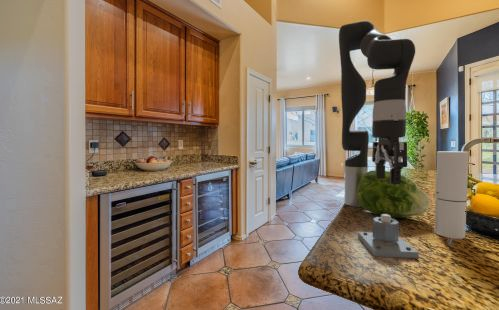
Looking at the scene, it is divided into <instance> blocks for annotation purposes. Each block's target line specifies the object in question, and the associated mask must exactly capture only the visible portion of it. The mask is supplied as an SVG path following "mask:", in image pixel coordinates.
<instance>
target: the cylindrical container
mask: <svg viewBox="0 0 499 310" xmlns="http://www.w3.org/2000/svg"><path fill="white" fill-rule="evenodd" d="M468 175H469V151H458V150H457V151H450V150H443V151H440V150H439V151H438V150H437V151H436V175H435V176H436V177H435V178H436V180H435V203H434V204H435V207H434V208H435V209H434V233H435V234H436V235H438V236H442V237H444V238H449V239H455V240H463V238H464V239H465V238H466V231H467V227H466V226H467V225H466V224H467V204H468V203H467V200H468V180H469V179H468V177H469V176H468ZM465 211H466V212H465Z"/></svg>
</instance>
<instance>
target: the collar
mask: <svg viewBox="0 0 499 310" xmlns="http://www.w3.org/2000/svg"><path fill="white" fill-rule="evenodd" d="M399 229H400V222H399V221H398V220H397V219H396V218H391V223H386V222H382V221H381V216H376V217H373V218H372V233H373V238H374V239H375V240H377V241H381V242H384V243H396V242H398V240H399V237H400V236H399V235H400V234H399V233H400V230H399Z"/></svg>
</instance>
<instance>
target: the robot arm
mask: <svg viewBox="0 0 499 310" xmlns="http://www.w3.org/2000/svg"><path fill="white" fill-rule="evenodd" d="M338 45H339V47H338V48H339V58H340V71H341V73H340V74H341V75H340V76H341V77H340V78H341V79H340V80H341V81H340V82H341V84H340V86H341V87H340V88H341V90H340V95H341V97H340V98H341V111H342V112H341V113H342V116H341V117H342V121H341V122H342V123H341V124H342V126H341V127H342V128H341V146H342V147H341V148H342V149H343V151H346V152H347V151H348V152H359V154H357V155H355V156H353V157H351V158H347V159H345V160H344V202H345V203H344V205H347V206H349V207H356V208H362V207H361V205H360V204H359V203H358V200H357V189H358V185H359V182H360V180H361V178H362V176H363V175H364V174H365V173H367V172H369V171H368V168H369V166H368V165H369V164H368V163H369V160H368V157H369V154H368V153H369V142H370V141H369V140H370V137H369V136H370V135H369V132H368V130H367V129H352V130H351V125H352V124H353V122H354V120H355V118H356V116H357V115H358V114H359V113H360V111H361V110H362V109H363V107H364V106H365V104H366V101H367V83H366V80H365V79H364V78H363V76H362V75H361V74H360V72H359V71H358V70H357V68H356V67H355V65H354V64H353V61H352V59H351V54H350V53H351V52H352V51H357V50H360V52H361V54H362V55H363V56H364V57H366V61H367V65H368V67H369V68H370V69H373V70H376V71H377V70H378V71H379V70H393V74H392V75H390V76H387V77H383V78H380V79H378V80H376V81H375V83H374V86H373V87H374V89H373V107H372V119H371V120H372V121H371V122H372V124H371V125H372V127H371V128H372V130H371V132H372V133H371V136H372V138H375V139H378V140H377V141H373V142H372V157H371V160H372V163H374V165H375V170H376V178H378V179H384V178H385V171H386V163H388V165H389V172H390V183H391V184H400V183H401V175H402V169H403V168H407V167H408V143H407V142H406V141H400V138H405V137H406V131H407V130H406V128H407V126H406V124H407V105H406V89H407V88H406V85H407V81H408V77H409V73H410V70H411V67H412V65H413V62H414V59H415V56H416V45H415V43H414V42H413V40H411V39H410V38H398V39H397V38H396V39H392V38H391V37H390V36H388V35H386V34H384V33H381V32H380V31H379V30H378V29H377V28H376V27H375V25H374V24H373V23H372V22H371V21H369V20H360V21H356V22H351V23H346V24H343V25H341V26H340V29H339V31H338Z"/></svg>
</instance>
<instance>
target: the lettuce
mask: <svg viewBox="0 0 499 310" xmlns="http://www.w3.org/2000/svg"><path fill="white" fill-rule="evenodd" d="M357 200H358V203H359V204H360V205H361V207H360V208H362V209H364V210H366V211H368V212H369V213H372V214H374V215H377V216H378V217H381V215H382V214H387V215H390V216H391V219H404V218H409V217H413V216H420V215H423V214H425V213H427V211H428V209H429V208H430V198H429V196H428V195H427V194H426V192H425V191H424V190H423V189H421V188H420V187H419V186H417V184H416V183H415V182H414V181H413V180H411V179H410V178H408V177H406V176H405V175H402V174H401V183H400V184H391V183H390V170H385V178H384V179H378V178H376V169H375V170H369V171H368V172H367V173H365V174H364V175H363V176H362V178H361V180H360V182H359V185H358V189H357Z"/></svg>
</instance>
